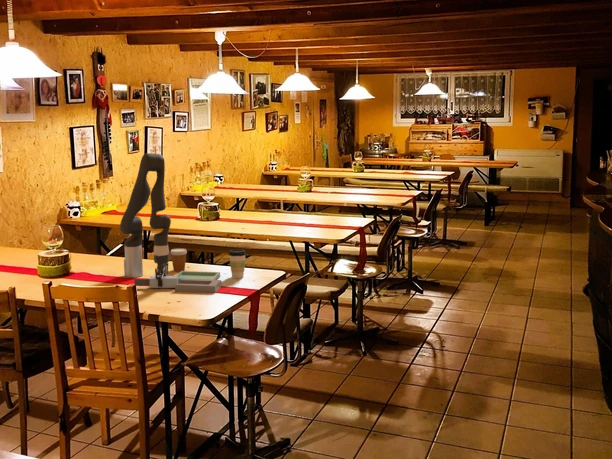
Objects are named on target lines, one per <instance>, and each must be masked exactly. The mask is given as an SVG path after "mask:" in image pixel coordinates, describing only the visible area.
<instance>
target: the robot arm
mask: <svg viewBox="0 0 612 459" xmlns="http://www.w3.org/2000/svg"><path fill="white" fill-rule="evenodd" d="M165 167H166V164H165V158H164V156H163V155H162V154H159V153H149V152H147V153H144V154H143V155H142V157H141V159H140V163H139V169H138V172H137V177H136V180H135V183H134V186H133V189H132V191H131V195H130V199H129V202H128V204H127V206H126V209H125V211H124V212H123V215H122V218H121V220H120V225H119V228H120V233H122V234H124V235H130V236H129V237H128V238H126V240H124V243H123V244H124V259H123V270H124V271H123V272H124V277H127V278H138V277H139V278H140V277H143V275H144V271H143V270H144V268H143V264H144V263H143V246H142V245H143V244H142V242H143V230H144V229H143V227H144V226H143V221H142V219H141V217H140V216H137V214H138V213H139V212H140V211H141V210H143V208H145V207H146V205H147V203H148V201H149V199H150V204H151V208H150V209H151V211H150V212H151V213H150V216H149V217H150V219H149V226H150V228H151V229H152V230H161V229H162V231H160V232H157V233H154V235H153V262H154V263H155V264H157V266H156V268H154V273H155V274H154V276H156V279H157V280H158V287H162V286H163V283H162V278H163V276H168V274H169V261H170V254H169V253H170V249H169V232H170V228H171V224H172V220H171V217H170V215H168V214H158V213H159V212H162V211H164V210H165V209H166V200H165V199H166V198H165V176H166V175H165V169H166V168H165ZM149 172H156V180H155V183H154V185H153V187H152V188H151V186H150V185H149V183H148V178H147V177H148V176H147V175H148V174H149ZM157 214H158V215H157Z"/></svg>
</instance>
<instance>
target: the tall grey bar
mask: <svg viewBox="0 0 612 459" xmlns="http://www.w3.org/2000/svg"><path fill="white" fill-rule="evenodd" d="M162 283H163V286H162V287H158V280H157V279H156V275H151V276H150V277H149V278H134V281H133V284H135V285H136V287H137V286H139V287H141V286H143V287H144V286H148V287H149V289H168V288H170V289H171V288H172V289H175V284H179V283H178V276H176V275H167V276H163V278H162Z"/></svg>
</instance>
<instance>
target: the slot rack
mask: <svg viewBox="0 0 612 459" xmlns="http://www.w3.org/2000/svg"><path fill="white" fill-rule="evenodd" d="M221 287H222V279H217V280H204V279H181V283H178V284H175V288H174V292H179V293H181V292H182V293H183V292H184V293H207V294H209V293H211V294H214V293H215V294H216V293H217V292H218V291H219V290H220V289H221Z"/></svg>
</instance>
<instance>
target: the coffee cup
mask: <svg viewBox="0 0 612 459" xmlns="http://www.w3.org/2000/svg"><path fill="white" fill-rule="evenodd" d="M228 255H229V256H228V258H229V264H230V273H231V278H232V279H236V280H237V279H243V278H244V272H245V267H246V255H247V251H246V250H245V249H243V248H242V249H240V248H235V249H230V250H229V252H228Z"/></svg>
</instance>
